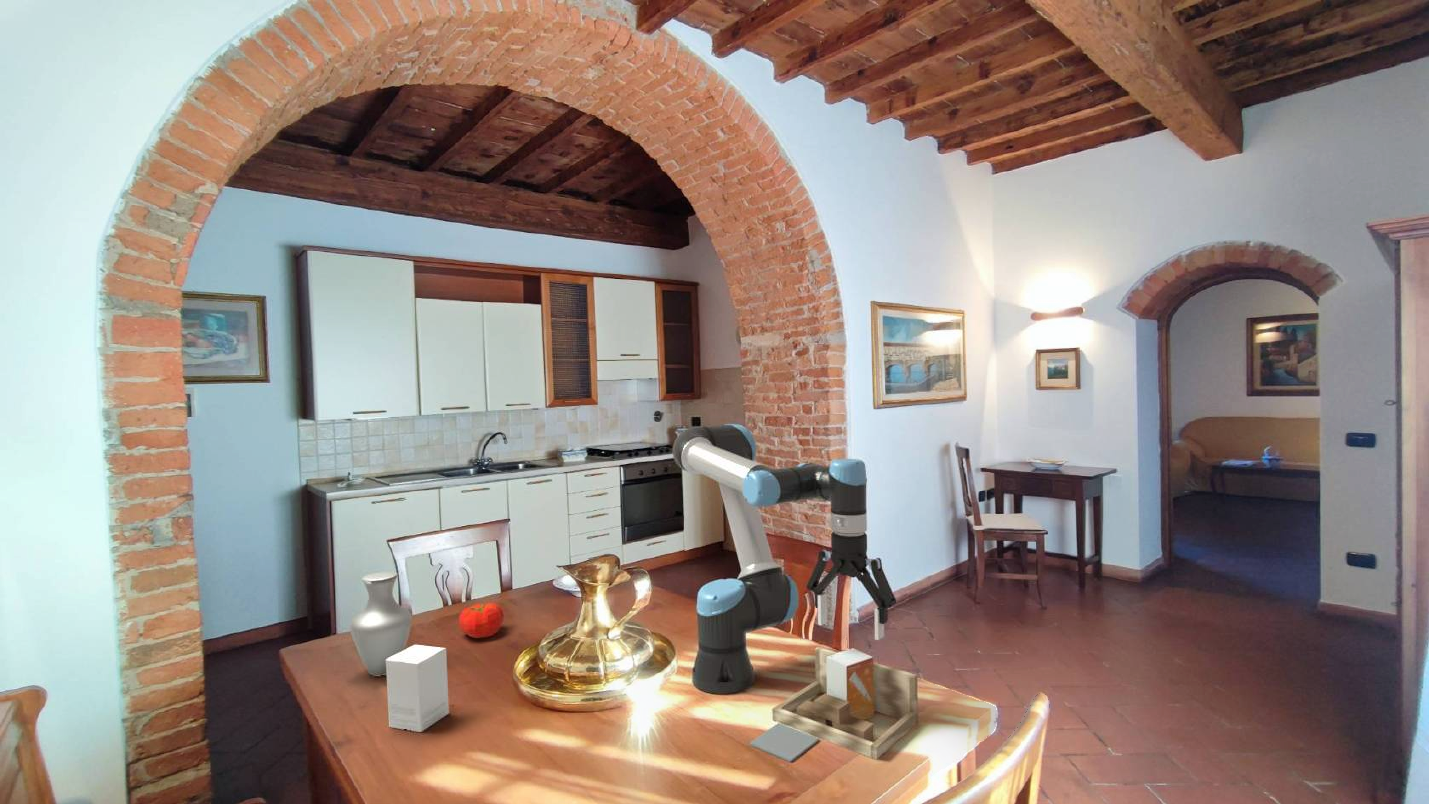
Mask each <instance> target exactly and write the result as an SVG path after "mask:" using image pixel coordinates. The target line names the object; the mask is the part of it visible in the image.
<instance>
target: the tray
mask: <svg viewBox="0 0 1429 804" xmlns="http://www.w3.org/2000/svg"><path fill="white" fill-rule="evenodd" d="M836 653H839V652H837V651H833V650H830V649H827V648H823V647H819V646H817V647H816V648H814V659H815V661H814V662H815V663H814V665H815V669H814V670H815V681H813V682H811V683H810V684H808V685H807V686H806V687H804V688H802V689H801V690H799V691H797V692H796V693H794V694H793V695H791V696H790V697H789V698H787V699H785V700H784V701H782V702H780V703H779V704H778V705H776V706H775V707H773V708H772V713H771V714H772V721H774V722H777V723H780V724H782V725H785V726H788V727H790V728H793V729H795V730H798V731H801V732H803V733H806V734H808V735H811V736H814V737H816V738H819V739H821V740H824V741H826V742H830V743H832V744H834V745H837V746H839V747H843V748H845V749H847V750H850V751H852V752H855V753H857V754H861V755H863V756H866V757H868V758H871V759H873V760H876V761H877V760H878V759H880V757H882V756H883V755H884V754H885V753H886V752H887V751H888V750H890V748H891V747H892V746H893V745H895V744H896V743H895V742H896V741H897V742H898V741H899V740H900V739H901V738H902V737H903V736H904V735H905V734H906V733H908V732H909V731H910V730H911V729H912V728H913V727H914V726H915V725H917V723H919V709H918V707H919V706H918V705H919V703H918V702H919V701H918V700H919V699H918V695H919V694H918V674H916V673H913V672H908V671H905V670H902V669H898V668H894V667H890V666H887V665H884V664H880V663H876V662H873V696H874V711H875V712H878V713H881V714H884V715H886V716H890V717H893V718H895V719H899V720H898V721H897V722H896V723H894V725H892V726H890V728H888V730H886V731H885V732H884V733H883V734H881V735H880V736H879V738H877V739H876V740H875V741H874V742H873V741H872V742H871V741H868V740H865V739H862V738H860V737H857V736H854V735H851V734H849V733H846V732H843V731H841V730H838V729H835V728H832V727H830V726H827V725H824V724H821V723H819V722H816V721H813V720H811V719H808V718H805V717H802V716H800V715H797V713H794V712H793V711H795V710H797V707H798V706H800V705H801V704H802V703H804V702H805V701H807V700H808V701H811V699H813V698H814V697H816V696H817V695H819V694H822V695H823V694H827V669H826V657H827V656H831V655H834V654H836ZM909 729H910V730H909ZM908 730H909V731H908ZM902 735H903V736H902ZM901 736H902V737H901ZM900 737H901V738H900ZM884 752H885V753H884ZM883 753H884V754H883ZM882 754H883V755H882Z"/></svg>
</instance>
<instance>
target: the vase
mask: <svg viewBox="0 0 1429 804" xmlns="http://www.w3.org/2000/svg"><path fill="white" fill-rule="evenodd" d="M398 575H399V574H398V573H397V572H396V571H382V572H381V571H380V572H378V571H377V572H374V573H371V574H370V573H369V574H366V575H365V576H362V577H361V579H362V581H363V584H364V586H365V588H366V591H367V594H368V600H367V603H366V605H365V608H364V609H363V610H362V611H361V612H359V613H358V614H357V615H356V616H355V617H354V618H353V619H352V620H351V622H350V627H349V628H350V629H349V630H350V634H351V638H352V639H353V642H354V644H355V648H356V650H357V652H358V654H359V657H360V660H361V661H362V663H363V664H364V665H363V666H365V669H366V670H367V672H368V673H369V675H370V674H371V675H383V674H387V673H386V659H388V658H389V657H391V656H393V655H395V654H398V653H400V652H402V651H404V650H406V646H407V643H408V640H409V636H410V634H411V633H410V632H411V628H412V623H413V615H412V613H411V611H410V610H408V608H406V607H404V606H402V605H400V604H398V603H397V602H396V600H395V598H394V596H393V590H394V587H395V582H396V580H397V577H398Z"/></svg>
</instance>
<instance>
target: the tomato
mask: <svg viewBox="0 0 1429 804" xmlns="http://www.w3.org/2000/svg"><path fill="white" fill-rule="evenodd" d="M503 622H504V611H503V609H502V607H501V606H500V605H498V604H497V603H494V602H487V603H485V602H484V603H477V604H473V605H472V606H470V607H467V608H464V609H463V610H462V611H461V612H460V615H459V617H458V624H459V628H460V631H461V632H462V633H463V634H466V635H468V636H469V637H472V638H474V639H480V638H490V637H492V636H494V635H495V634H496V633H498V632H499V631H500V628H501V626H502V625H503ZM489 636H490V637H489Z"/></svg>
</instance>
